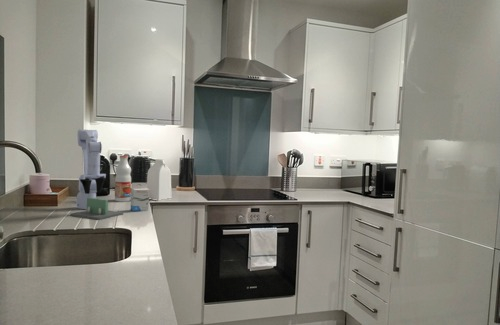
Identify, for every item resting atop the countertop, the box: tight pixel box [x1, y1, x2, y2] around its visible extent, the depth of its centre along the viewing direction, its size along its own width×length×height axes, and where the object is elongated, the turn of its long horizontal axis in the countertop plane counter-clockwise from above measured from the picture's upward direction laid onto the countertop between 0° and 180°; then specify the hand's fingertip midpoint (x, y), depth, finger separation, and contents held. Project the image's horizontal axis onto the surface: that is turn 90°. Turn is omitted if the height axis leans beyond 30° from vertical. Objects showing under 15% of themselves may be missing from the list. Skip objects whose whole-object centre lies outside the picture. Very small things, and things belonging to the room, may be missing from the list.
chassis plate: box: [69, 207, 124, 221], centre depth 181 cm, size 18×16×4 cm
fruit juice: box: [114, 155, 132, 203], centre depth 227 cm, size 9×9×28 cm
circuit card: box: [86, 197, 109, 215], centre depth 181 cm, size 12×2×7 cm, turn 68°
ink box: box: [130, 182, 150, 212], centre depth 198 cm, size 8×5×15 cm, turn 124°
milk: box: [146, 158, 173, 200], centre depth 240 cm, size 12×12×26 cm
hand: (93, 192), depth 184 cm, fingers open, 7 cm apart
